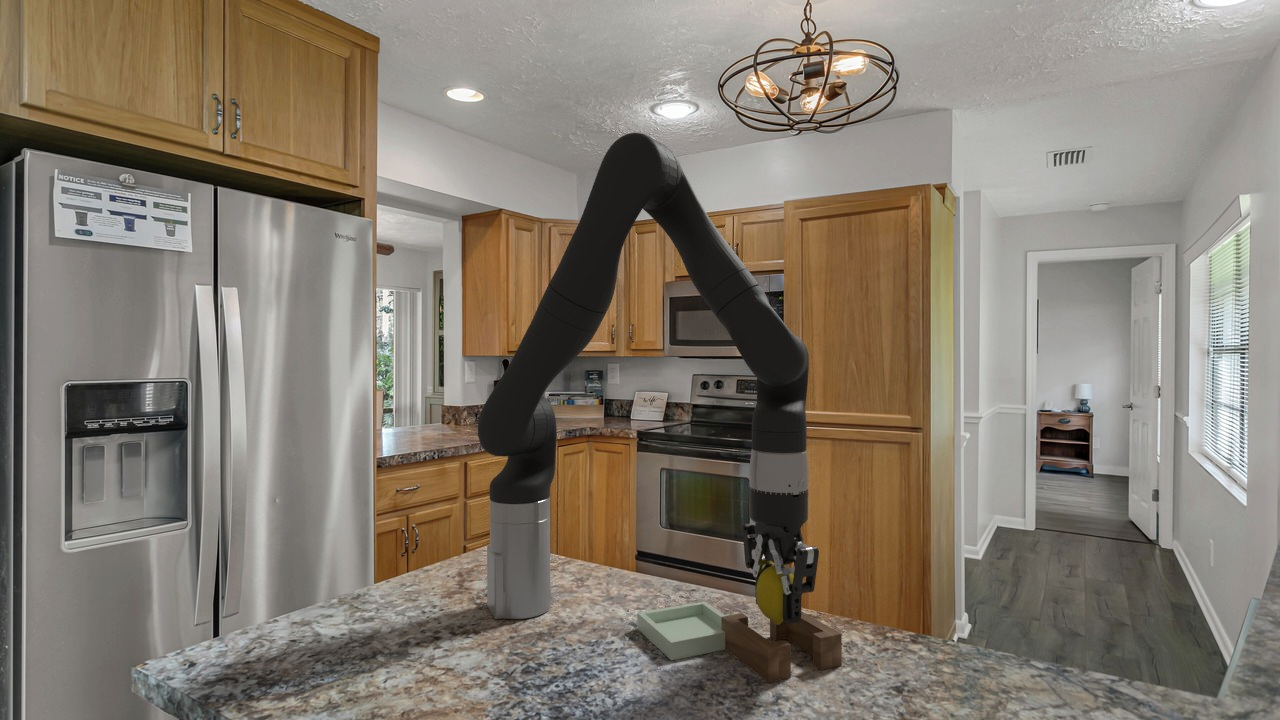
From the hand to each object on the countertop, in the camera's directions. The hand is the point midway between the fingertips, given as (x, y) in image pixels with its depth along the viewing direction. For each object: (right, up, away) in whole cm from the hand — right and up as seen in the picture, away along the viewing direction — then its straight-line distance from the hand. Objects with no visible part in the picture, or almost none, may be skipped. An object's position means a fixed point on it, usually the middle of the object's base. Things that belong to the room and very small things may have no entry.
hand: (777, 612), depth 88 cm
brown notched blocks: (0, -5, 0) cm, 6 cm away
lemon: (0, -2, 0) cm, 2 cm away
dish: (-11, -6, +6) cm, 14 cm away
